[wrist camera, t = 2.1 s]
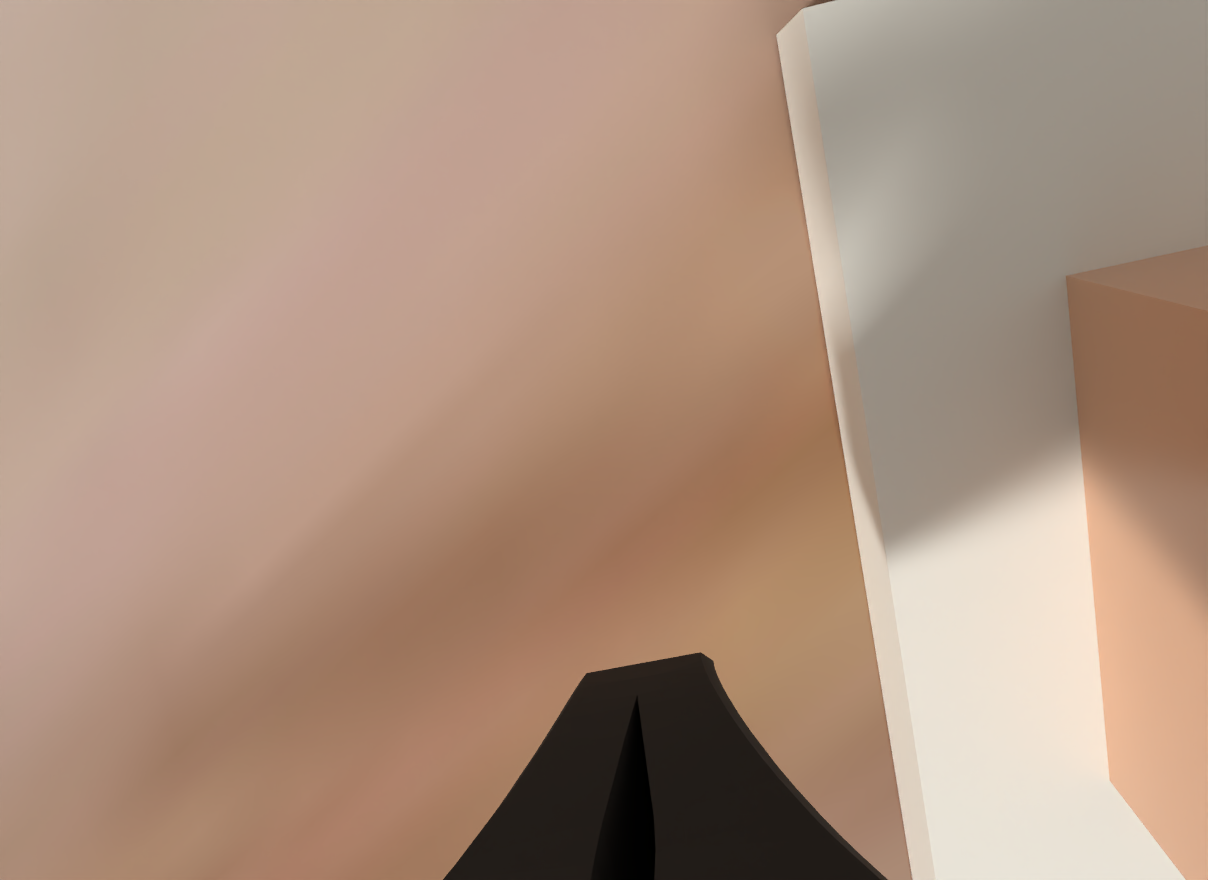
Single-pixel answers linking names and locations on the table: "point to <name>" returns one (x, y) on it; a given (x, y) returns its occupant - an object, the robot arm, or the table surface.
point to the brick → (1149, 531)
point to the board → (988, 380)
